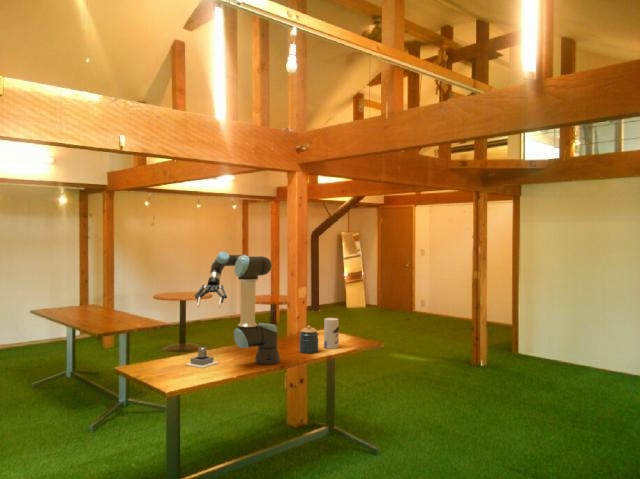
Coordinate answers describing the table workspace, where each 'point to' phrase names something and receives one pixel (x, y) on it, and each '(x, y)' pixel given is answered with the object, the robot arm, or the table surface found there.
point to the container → (331, 333)
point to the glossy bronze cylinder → (202, 353)
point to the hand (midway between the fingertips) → (208, 306)
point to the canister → (308, 340)
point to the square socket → (202, 362)
